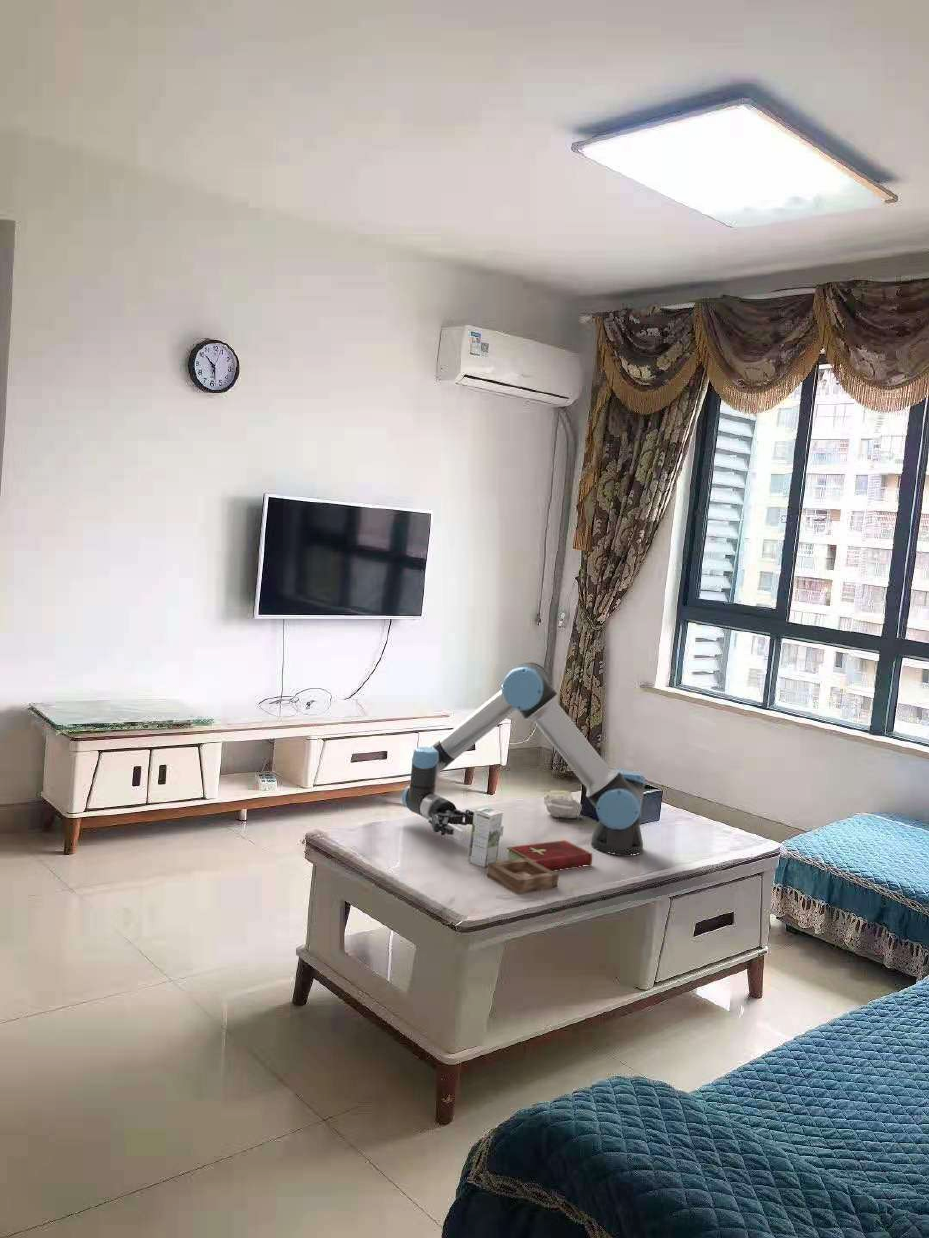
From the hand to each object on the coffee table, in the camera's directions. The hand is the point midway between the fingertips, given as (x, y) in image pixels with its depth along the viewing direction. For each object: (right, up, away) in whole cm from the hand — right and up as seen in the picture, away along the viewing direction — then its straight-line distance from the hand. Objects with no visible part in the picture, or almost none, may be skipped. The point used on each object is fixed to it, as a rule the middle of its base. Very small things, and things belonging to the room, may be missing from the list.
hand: (482, 833), depth 277 cm
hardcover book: (+18, -10, +6) cm, 22 cm away
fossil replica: (+27, -6, +53) cm, 60 cm away
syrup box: (0, -8, 0) cm, 8 cm away
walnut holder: (+10, -10, -12) cm, 18 cm away
